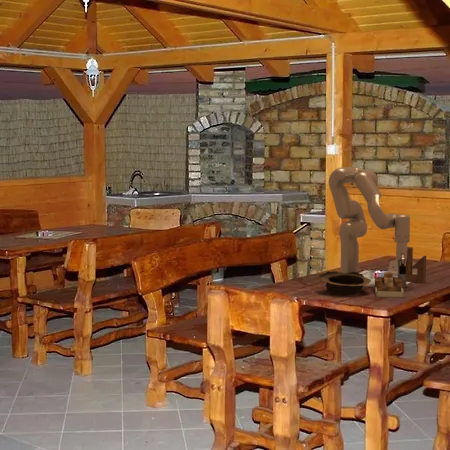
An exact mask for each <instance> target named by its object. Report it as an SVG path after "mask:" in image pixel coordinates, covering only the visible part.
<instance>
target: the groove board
mask: <svg viewBox="0 0 450 450" xmlns="http://www.w3.org/2000/svg"><path fill="white" fill-rule="evenodd" d="M375 287H377V291H387V292H401V288H403V287H402V279H401V277H398V276H393V287H384V276H374V289H375Z"/></svg>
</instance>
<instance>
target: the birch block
mask: <svg viewBox="0 0 450 450" xmlns="http://www.w3.org/2000/svg"><path fill="white" fill-rule="evenodd" d="M384 287H393V278H384Z"/></svg>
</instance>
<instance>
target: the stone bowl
mask: <svg viewBox="0 0 450 450" xmlns="http://www.w3.org/2000/svg"><path fill="white" fill-rule="evenodd" d="M318 278H319V279H320V280H321V282H325V283H326V284H325V287H326V291H327V292H328V293H329V294H338V295H341V296H346V295H348V296H350V295H356V294H357V293H359V292H361V291H362V290H363V288H364V286H367V285H370V283H371V282H372V280H371V279H370V278H367V277H365V276H364V275H363V274H362V273H361V272H359V273H358V272H351V273H340V271H335V270H334V271H326V272H323V273H320V274H318Z"/></svg>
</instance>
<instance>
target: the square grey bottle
mask: <svg viewBox="0 0 450 450" xmlns="http://www.w3.org/2000/svg"><path fill="white" fill-rule="evenodd" d="M399 266H400V261H398V276H397V277H401V279H402V288H407V281H406V279H405V274H399Z"/></svg>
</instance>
